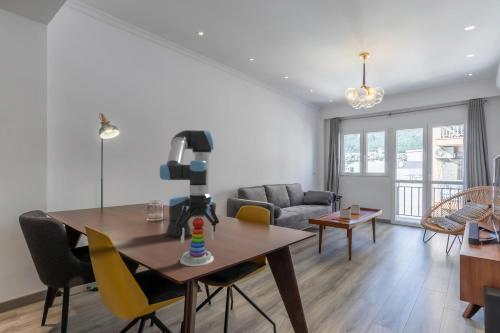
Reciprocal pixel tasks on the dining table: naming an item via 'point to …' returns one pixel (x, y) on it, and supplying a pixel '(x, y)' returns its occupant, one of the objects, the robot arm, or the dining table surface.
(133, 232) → the dining table surface
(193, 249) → the stacking toy
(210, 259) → the collar base
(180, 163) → the robot arm
